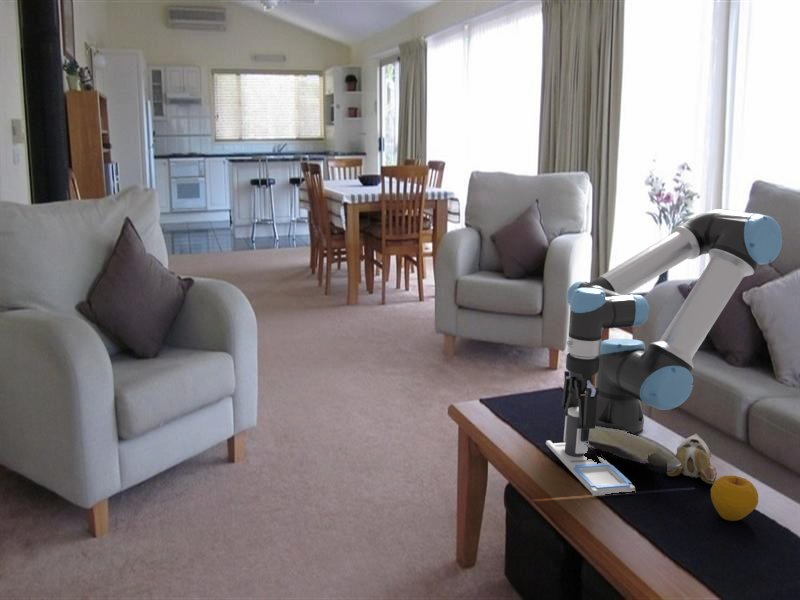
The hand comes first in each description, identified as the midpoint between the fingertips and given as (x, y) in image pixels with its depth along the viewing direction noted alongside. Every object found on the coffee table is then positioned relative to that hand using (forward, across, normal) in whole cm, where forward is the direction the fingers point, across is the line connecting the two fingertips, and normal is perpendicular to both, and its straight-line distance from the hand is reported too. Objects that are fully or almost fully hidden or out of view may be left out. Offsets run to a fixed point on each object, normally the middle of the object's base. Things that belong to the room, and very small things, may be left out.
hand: (575, 446), depth 177 cm
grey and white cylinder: (+2, 0, 0) cm, 2 cm away
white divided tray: (+2, +7, 0) cm, 7 cm away
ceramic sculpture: (+2, +13, +22) cm, 26 cm away
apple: (+2, +33, +19) cm, 38 cm away
